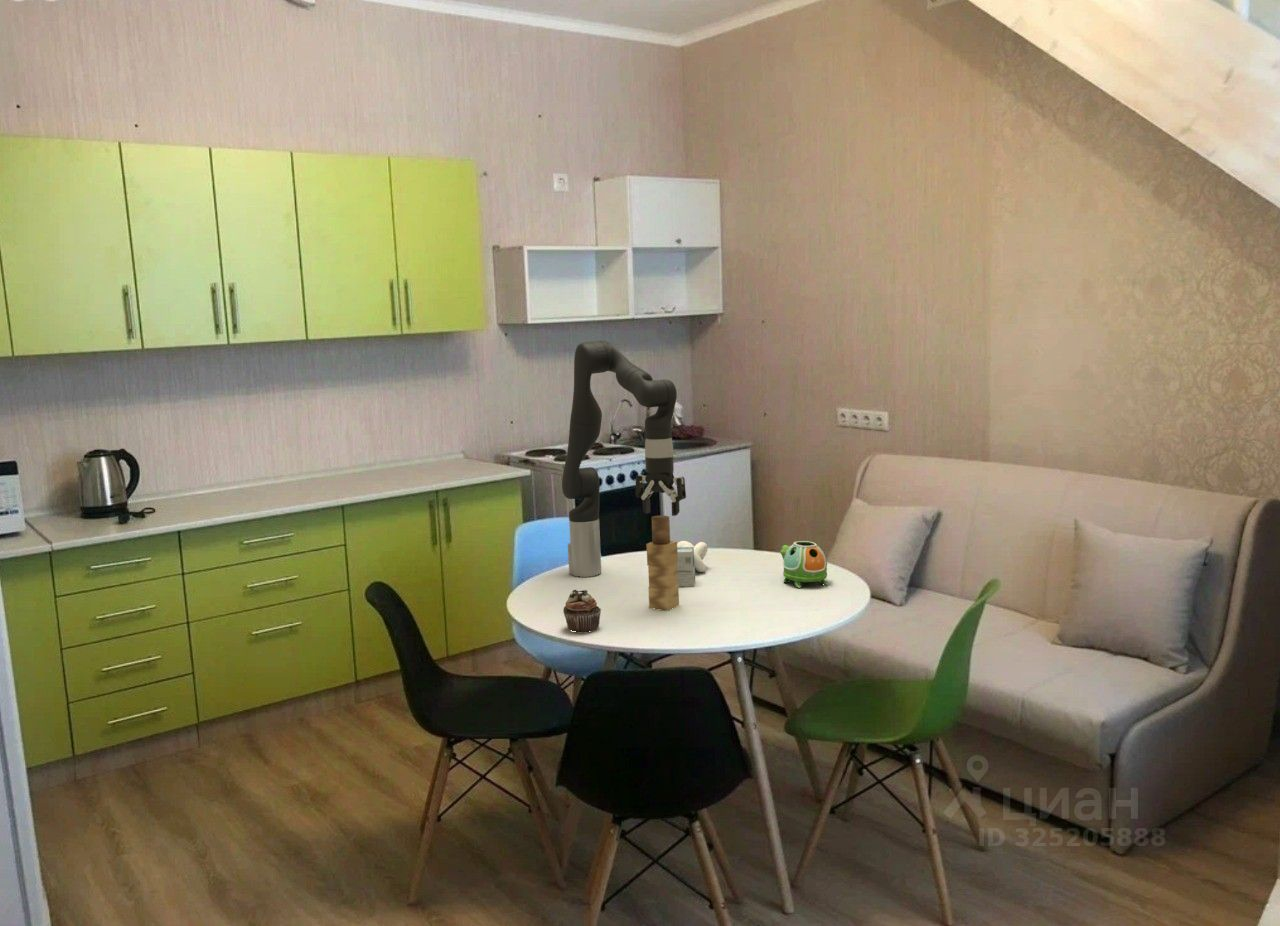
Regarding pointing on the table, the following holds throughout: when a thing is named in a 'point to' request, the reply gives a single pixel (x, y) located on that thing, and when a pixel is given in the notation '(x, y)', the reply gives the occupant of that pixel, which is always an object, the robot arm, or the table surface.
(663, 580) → the tower mid
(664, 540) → the walnut cylinder
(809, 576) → the turtle holder
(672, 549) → the tower top
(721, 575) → the table surface
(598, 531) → the robot arm
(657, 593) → the tower base
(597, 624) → the cupcake
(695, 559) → the white knot sculpture
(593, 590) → the table surface
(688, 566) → the light bulb box
